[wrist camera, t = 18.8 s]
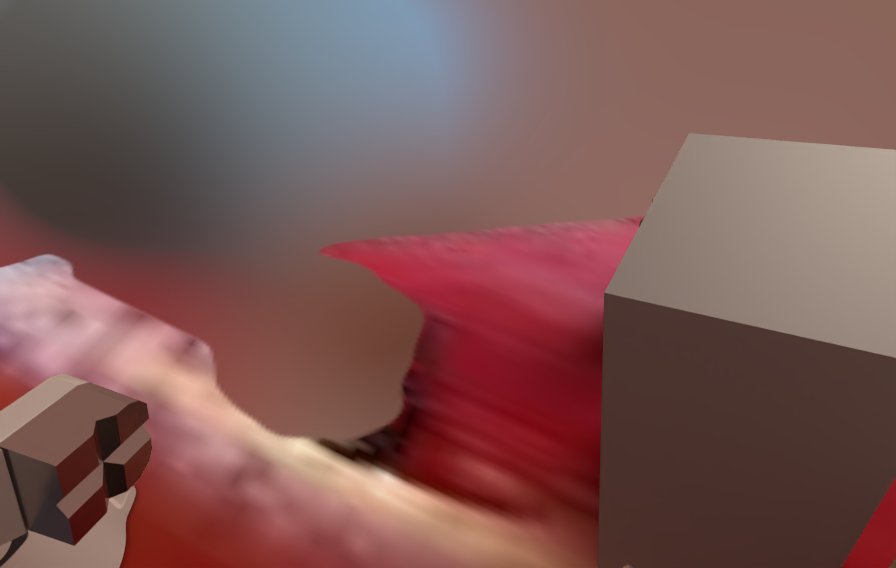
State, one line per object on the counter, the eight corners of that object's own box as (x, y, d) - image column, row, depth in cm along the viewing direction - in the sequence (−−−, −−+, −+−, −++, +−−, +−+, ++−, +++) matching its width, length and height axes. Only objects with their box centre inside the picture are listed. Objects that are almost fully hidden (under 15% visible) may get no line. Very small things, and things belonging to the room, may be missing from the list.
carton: (597, 568, 41) (604, 292, 25) (657, 404, 51) (689, 133, 35) (787, 655, 35) (959, 371, 19) (812, 452, 45) (937, 153, 29)
